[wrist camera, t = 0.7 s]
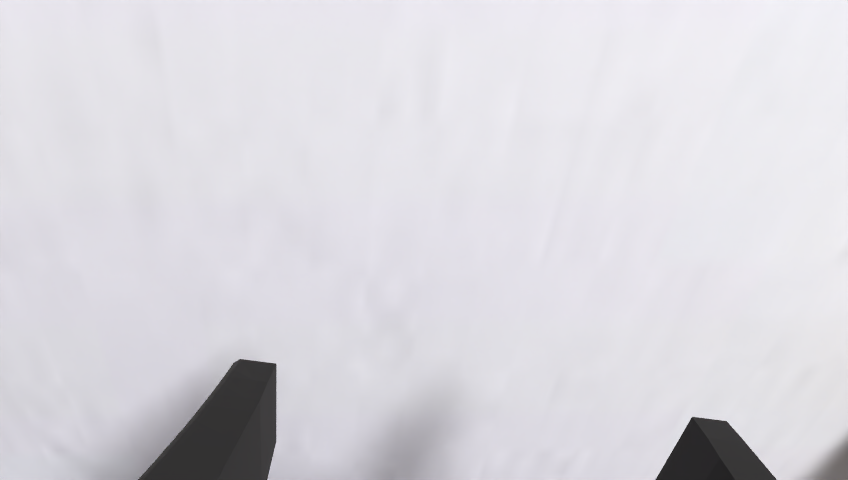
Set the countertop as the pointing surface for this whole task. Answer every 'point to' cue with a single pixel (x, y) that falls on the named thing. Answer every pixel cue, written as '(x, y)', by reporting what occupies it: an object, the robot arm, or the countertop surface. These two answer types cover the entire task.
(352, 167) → the countertop surface
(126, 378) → the countertop surface
